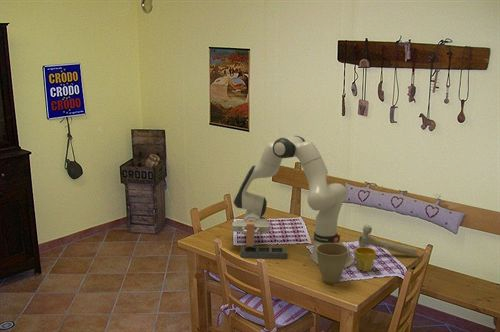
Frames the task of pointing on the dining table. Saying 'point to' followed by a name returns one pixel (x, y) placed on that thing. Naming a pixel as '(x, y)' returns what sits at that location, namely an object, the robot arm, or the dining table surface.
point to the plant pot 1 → (331, 261)
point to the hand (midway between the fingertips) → (250, 232)
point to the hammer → (384, 243)
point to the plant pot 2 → (365, 258)
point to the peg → (250, 233)
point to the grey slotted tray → (263, 252)
